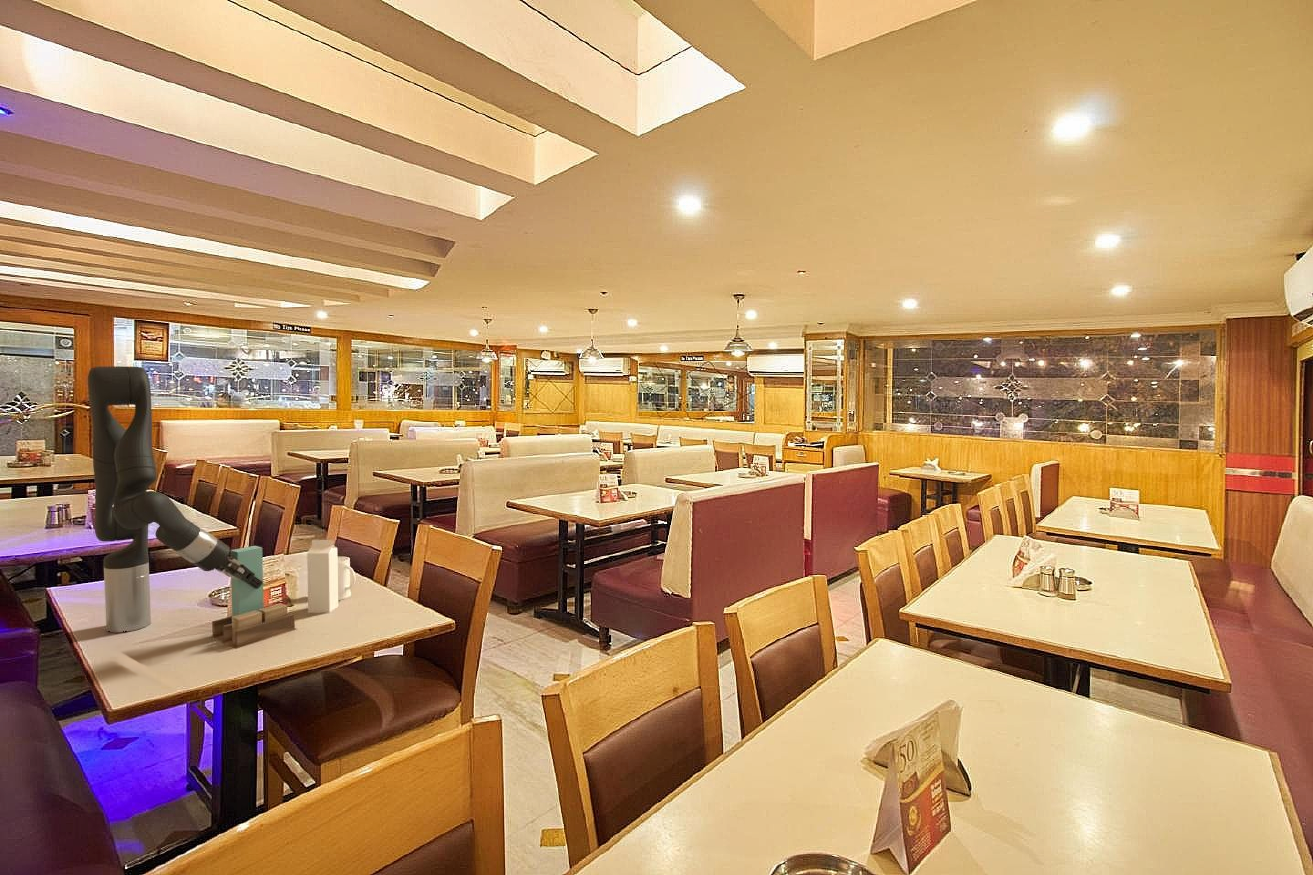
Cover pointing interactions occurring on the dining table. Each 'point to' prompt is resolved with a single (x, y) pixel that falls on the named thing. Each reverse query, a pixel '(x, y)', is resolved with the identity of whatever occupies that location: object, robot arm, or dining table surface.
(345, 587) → the mug
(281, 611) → the offcut
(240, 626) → the offcut
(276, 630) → the rack
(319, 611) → the milk
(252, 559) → the teal rectangular block
